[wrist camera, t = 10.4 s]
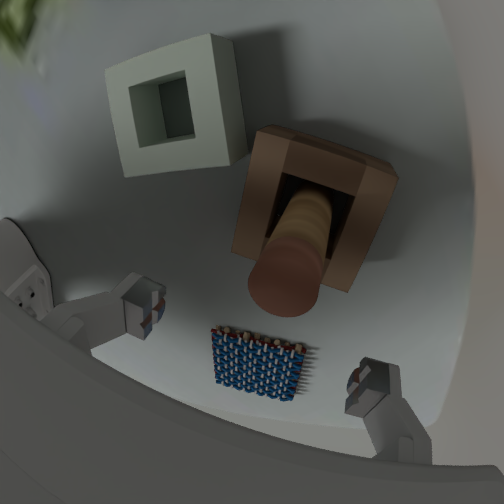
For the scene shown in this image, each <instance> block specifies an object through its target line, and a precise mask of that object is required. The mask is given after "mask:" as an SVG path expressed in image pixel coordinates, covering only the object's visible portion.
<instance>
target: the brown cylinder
mask: <svg viewBox="0 0 504 504" xmlns="http://www.w3.org/2000/svg"><path fill="white" fill-rule="evenodd" d="M333 205H334V192H333V189H332V188H330V187H327V186H324V185H321V184H318V183H315V182H312V181H309V180H304V181H302V182H301V183H300V184H299V185H298V187H297V189H296V191H295V193H294V194H293V196H292V198H291V200H290V202H289V204H288V206H287V207H286V209H285V211H284V213H283V215H282V217H281V218H280V220H279V222H278V224H277V226H276V228H275V230H274V231H273V233H272V235H271V237H270V239H269V241H268V242H267V244H266V246H265V248H264V250H263V252H262V253H261V255H260V257H259V259H258V261H257V263H256V264H255V266H254V268H253V270H252V272H251V273H250V276H249V279H248V288H249V292H250V295H251V297H252V298H253V300H254V301H255V302H256V304H257V305H258V306H260V307H261V308H262V309H263V310H265V311H267V312H268V313H271V314H273V315H276V316H280V317H296V316H300V315H302V314H304V313H306V312H308V311H309V310H310V309H311V308H312V307H313V306H314V305H315V303H316V301H317V297H318V292H319V287H320V282H321V277H322V272H323V266H324V261H325V255H326V249H327V243H328V237H329V231H330V225H331V218H332V212H333Z"/></svg>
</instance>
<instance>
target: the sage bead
mask: <svg viewBox="0 0 504 504" xmlns="http://www.w3.org/2000/svg"><path fill="white" fill-rule="evenodd" d="M104 72H105V79H106V85H107V92H108V98H109V104H110V110H111V115H112V121H113V126H114V131H115V136H116V141H117V146H118V150H119V155H120V160H121V164H122V168H123V173H124V177H125V178H128V177H134V176H141V175H148V174H156V173H164V172H172V171H180V170H189V169H199V168H209V167H220V166H230V165H232V164H233V163H235V162H236V161H238V160H240V159H241V158H243V157H244V156H246V155H247V154H249V152H248V145H247V138H246V131H245V123H244V116H243V109H242V102H241V95H240V88H239V81H238V74H237V67H236V60H235V54H234V47H233V41H230V40H228V39H225V38H222V37H220V36H217V35H214V34H211V33H208V34H205V35H201V36H197V37H194V38H190V39H187V40H183V41H180V42H177V43H173V44H170V45H167V46H164V47H161V48H158V49H155V50H153V51H150V52H147V53H144V54H142V55H139V56H136V57H134V58H131V59H129V60H126V61H124V62H122V63H119V64H117V65H114V66H112V67H110V68H108V69H105V70H104ZM185 77H186V81H187V87H188V94H189V100H190V106H191V112H192V118H193V124H194V130H195V134H189V135H183V136H178V137H172V138H167V133H166V128H165V122H164V117H163V111H162V105H161V99H160V93H159V86H158V85H159V84H163V83H166V82H170V81H173V80H177V79H181V78H185Z"/></svg>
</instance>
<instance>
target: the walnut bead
mask: <svg viewBox="0 0 504 504" xmlns="http://www.w3.org/2000/svg"><path fill="white" fill-rule="evenodd" d="M288 174H291V175H294V176H297V177H300V178H303V179H306V180H309V181H312V182H315V183H318V184H321V185H324V186H327V187H330V188H333V189H336V190H339V191H341V192H344V193H347V194H349V197H348V199H347V202H346V205H345V208H344V210H343V213H342V216H341V218H340V221H339V224H338V226H337V229H336V232H335V234H332V233H329V237H328V243H327V249H326V255H325V261H324V266H323V272H322V277H321V282H320V283H321V284H323V285H326V286H329V287H332V288H335V289H338V290H341V291H344V292H347V293H348V291H349V289H350V287H351V285H352V283H353V281H354V279H355V277H356V275H357V273H358V271H359V269H360V267H361V265H362V263H363V261H364V259H365V256H366V254H367V252H368V250H369V248H370V246H371V243H372V241H373V239H374V237H375V234H376V232H377V230H378V228H379V225H380V223H381V221H382V218H383V216H384V214H385V211H386V209H387V206H388V204H389V202H390V199H391V197H392V194H393V192H394V189H395V186H396V184H397V181H398V179H399V178H398V176H397V174H396V172H395V171H394V169H393V167H392V166H391V164H390V163H388V162H385V161H383V160H380V159H377V158H375V157H372V156H370V155H367V154H364V153H362V152H359V151H356V150H353V149H350V148H348V147H345V146H342V145H339V144H336V143H333V142H330V141H327V140H324V139H321V138H317V137H314V136H311V135H308V134H304V133H301V132H298V131H294V130H291V129H287V128H284V127H280V126H276V125H273V124H272V125H269V126H267V127H264V128H262V129H260V130H257V132H256V137H255V141H254V146H253V150H252V155H251V159H250V164H249V168H248V173H247V177H246V182H245V187H244V191H243V196H242V201H241V205H240V210H239V215H238V220H237V225H236V229H235V234H234V239H233V244H232V249H231V252H232V253H235V254H238V255H241V256H244V257H246V258H249V259H252V260H255V261H258V259H259V257H260V255H261V253H262V252H263V250H264V248H265V246H266V244H267V242H268V241H269V239H270V237H271V235H272V233H273V231H274V230H275V228H276V226H277V224H278V222H279V220H280V218H281V217H282V216H279V215H277V214H278V211H279V207H280V203H281V200H282V196H283V192H284V189H285V185H286V181H287V178H288Z"/></svg>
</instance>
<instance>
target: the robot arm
mask: <svg viewBox="0 0 504 504" xmlns="http://www.w3.org/2000/svg"><path fill="white" fill-rule="evenodd" d="M165 294H166V287H165V286H164V285H162V284H160V283H158V282H156V281H153V280H151V279H149V278H147V277H145V276H142V275H140V274H138V273H135V272H132V273H130V274H129V275H128V276H127V277H126V278H125V279H123V280H122V281H121V282H120V283H119V284H118V285H117V286H116V287H115V288H114V289H113V290H112V291H111V292H110V293H108V292H104V293H100V294H96V295H92V296H88V297H84V298H81V299H77V300H73V301H69V302H65V303H62V304H58V305H57V306H56V307H55V308H54V306H53V298H52V291H51V282H50V275H49V273H48V271H47V270H46V268H45V267H44V266H43V264H42V263H41V262H40V261H39V260H38V258H37V256H36V255H35V253H34V251H33V249H32V247H31V245H30V244H29V242H28V240H27V239H26V237H25V236H24V234H23V233H22V232H21V230H20V229H19V228H18V227H17V226H16V225H15V224H14V223H13V222H12V221H10V220H8V219H1V220H0V504H504V475H503V474H502V472H501V471H500V470H499V469H498V468H497V467H496V466H494V465H478V466H452V465H451V466H450V465H432V444H431V439H430V437H429V435H428V434H427V432H426V431H425V429H424V427H423V426H422V424H421V423H420V421H419V420H418V418H417V416H416V415H415V413H414V412H413V410H412V409H411V407H410V406H409V404H408V403H407V401H406V400H405V398H402V392H401V379H400V368H399V366H398V365H394V364H391V363H386V362H383V361H379V360H375V359H372V358H368V357H364V358H363V359H362V360H361V361H360V367H359V368H357V369H354V371H353V372H352V374H351V376H350V378H349V380H348V384H347V392H348V394H349V397H348V398H347V399H346V403H345V413H346V414H349V415H353V416H357V417H361V418H363V421H364V423H365V426H366V428H367V431H368V433H369V435H370V437H371V440H372V443H373V445H374V447H375V450H376V452H377V455H375V456H374V457H372V458H366V457H360V456H354V455H349V454H344V453H339V452H334V451H329V450H325V449H320V448H316V447H312V446H308V445H304V444H300V443H296V442H292V441H288V440H285V439H281V438H278V437H275V436H271V435H268V434H265V433H262V432H258V431H255V430H252V429H249V428H246V427H243V426H241V425H238V424H235V423H232V422H229V421H227V420H224V419H221V418H219V417H216V416H213V415H211V414H208V413H205V412H203V411H201V410H198V409H196V408H194V407H191V406H189V405H186V404H184V403H182V402H180V401H177V400H175V399H173V398H171V397H169V396H167V395H164V394H162V393H160V392H158V391H156V390H154V389H152V388H150V387H148V386H146V385H144V384H142V383H140V382H138V381H136V380H134V379H132V378H130V377H128V376H126V375H125V374H123V373H121V372H119V371H117V370H115V369H114V368H112V367H110V366H108V365H107V364H105V363H103V362H101V361H100V360H98V359H96V358H95V357H93V356H92V354H91V350H90V349H92V348H94V347H97V346H99V345H101V344H103V343H106V342H108V341H110V340H112V339H115V338H117V337H119V336H121V335H124V334H126V333H129V334H131V335H133V336H135V337H137V338H139V339H142V340H145V339H146V337H147V336H148V335H149V333H150V332H151V331H152V324H155V323H158V321H159V320H160V319H161V317H162V315H163V313H164V309H165V300H164V298H163V297H164V295H165Z"/></svg>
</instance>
